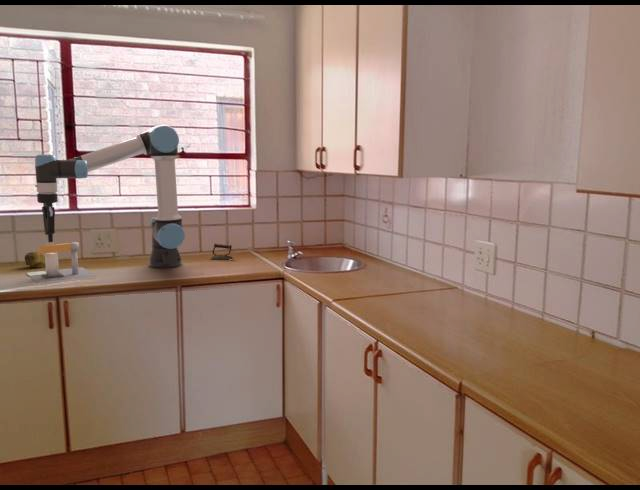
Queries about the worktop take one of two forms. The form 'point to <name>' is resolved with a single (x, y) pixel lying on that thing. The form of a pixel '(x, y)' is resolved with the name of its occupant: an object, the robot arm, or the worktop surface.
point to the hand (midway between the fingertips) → (50, 249)
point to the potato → (35, 260)
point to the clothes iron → (221, 257)
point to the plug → (51, 264)
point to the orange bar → (58, 248)
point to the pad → (36, 273)
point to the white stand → (66, 272)
